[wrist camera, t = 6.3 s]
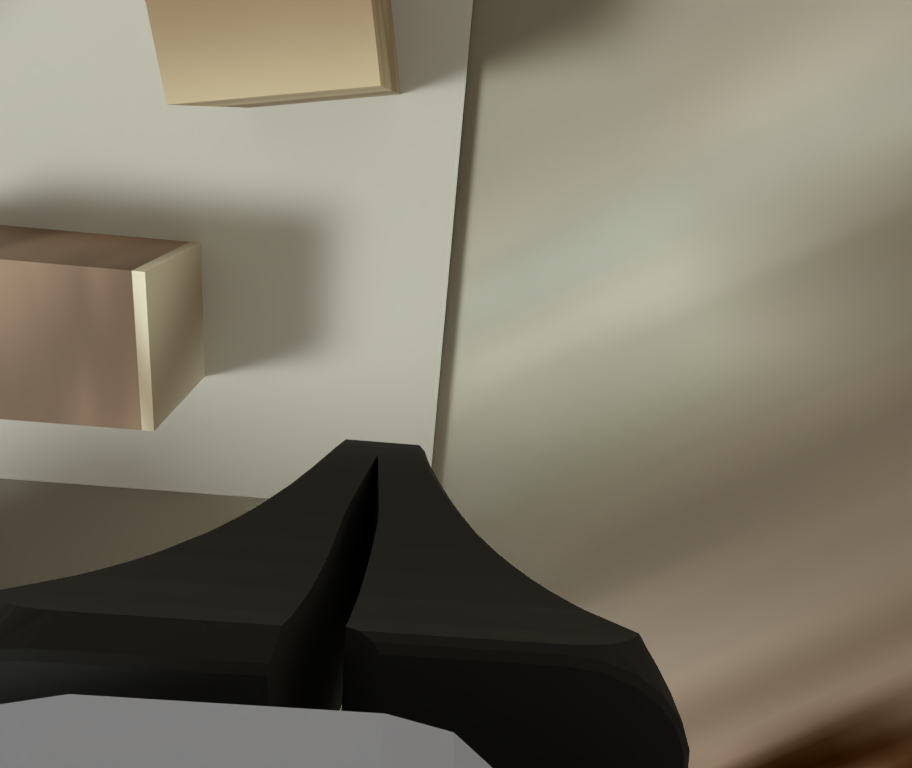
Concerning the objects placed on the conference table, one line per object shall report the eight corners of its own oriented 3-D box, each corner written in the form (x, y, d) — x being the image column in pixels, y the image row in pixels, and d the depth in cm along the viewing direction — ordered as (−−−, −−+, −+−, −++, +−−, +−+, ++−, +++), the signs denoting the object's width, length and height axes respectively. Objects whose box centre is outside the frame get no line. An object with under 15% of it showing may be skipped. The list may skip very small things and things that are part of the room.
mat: (427, 504, 24) (427, 510, 23) (-73, 466, 23) (-82, 472, 23) (486, -148, 18) (486, -154, 17) (-198, -226, 17) (-213, -234, 16)
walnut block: (154, 431, 18) (-159, 406, 18) (204, 376, 22) (-52, 355, 21) (144, 272, 17) (-195, 242, 16) (200, 242, 20) (-74, 218, 20)
